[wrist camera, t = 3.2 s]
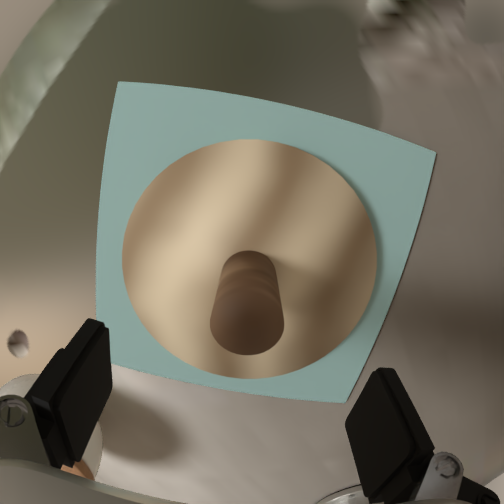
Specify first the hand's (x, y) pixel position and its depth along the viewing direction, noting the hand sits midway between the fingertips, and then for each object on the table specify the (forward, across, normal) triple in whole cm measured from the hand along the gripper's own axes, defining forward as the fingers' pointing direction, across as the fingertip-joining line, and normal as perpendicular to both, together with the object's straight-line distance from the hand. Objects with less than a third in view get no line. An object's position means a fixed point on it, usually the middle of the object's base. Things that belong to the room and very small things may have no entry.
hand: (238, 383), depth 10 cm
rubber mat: (+12, 0, +1) cm, 12 cm away
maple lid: (+12, 0, +1) cm, 12 cm away
